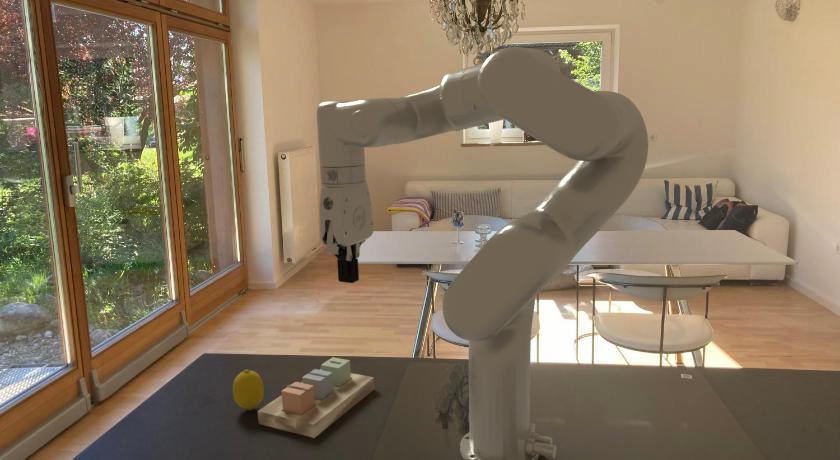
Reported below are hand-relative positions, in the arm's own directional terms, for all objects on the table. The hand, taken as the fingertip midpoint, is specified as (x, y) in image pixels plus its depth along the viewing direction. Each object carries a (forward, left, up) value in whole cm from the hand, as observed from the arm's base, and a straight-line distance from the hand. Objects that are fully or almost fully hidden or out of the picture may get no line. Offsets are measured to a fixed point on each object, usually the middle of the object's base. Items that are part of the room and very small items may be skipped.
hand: (348, 281), depth 111 cm
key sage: (+8, -6, -23) cm, 25 cm away
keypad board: (+8, 0, -25) cm, 26 cm away
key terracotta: (+8, +6, -23) cm, 25 cm away
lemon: (+19, +7, -25) cm, 32 cm away
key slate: (+8, 0, -23) cm, 25 cm away
